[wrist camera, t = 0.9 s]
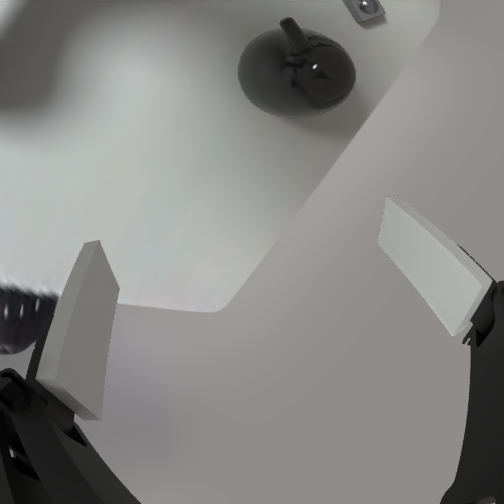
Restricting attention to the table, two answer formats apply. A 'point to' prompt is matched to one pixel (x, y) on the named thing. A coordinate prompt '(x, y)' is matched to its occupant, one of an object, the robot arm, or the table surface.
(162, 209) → the table surface
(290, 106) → the pump dispenser
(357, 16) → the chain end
